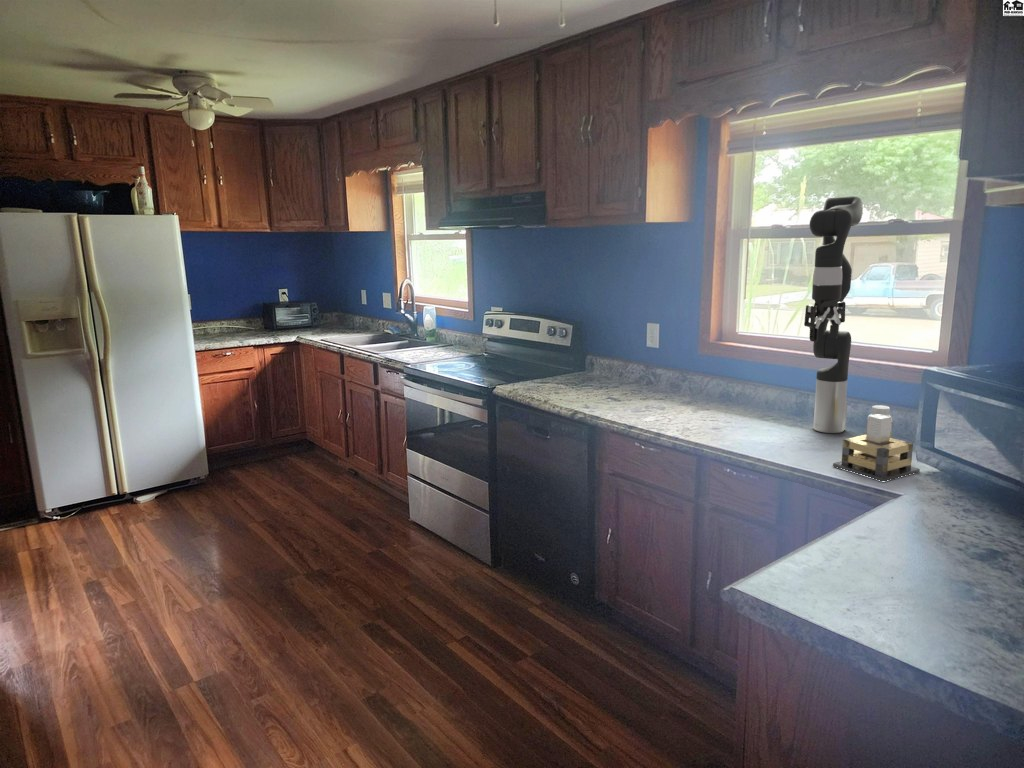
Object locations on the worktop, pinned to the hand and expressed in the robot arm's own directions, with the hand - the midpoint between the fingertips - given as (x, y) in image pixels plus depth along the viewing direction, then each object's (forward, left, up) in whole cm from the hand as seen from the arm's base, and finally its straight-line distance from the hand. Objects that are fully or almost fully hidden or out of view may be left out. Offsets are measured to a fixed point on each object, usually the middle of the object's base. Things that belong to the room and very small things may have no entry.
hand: (823, 339), depth 190 cm
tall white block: (-1, +18, -33) cm, 38 cm away
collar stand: (-1, +18, -34) cm, 39 cm away
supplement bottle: (-19, +6, -34) cm, 40 cm away
